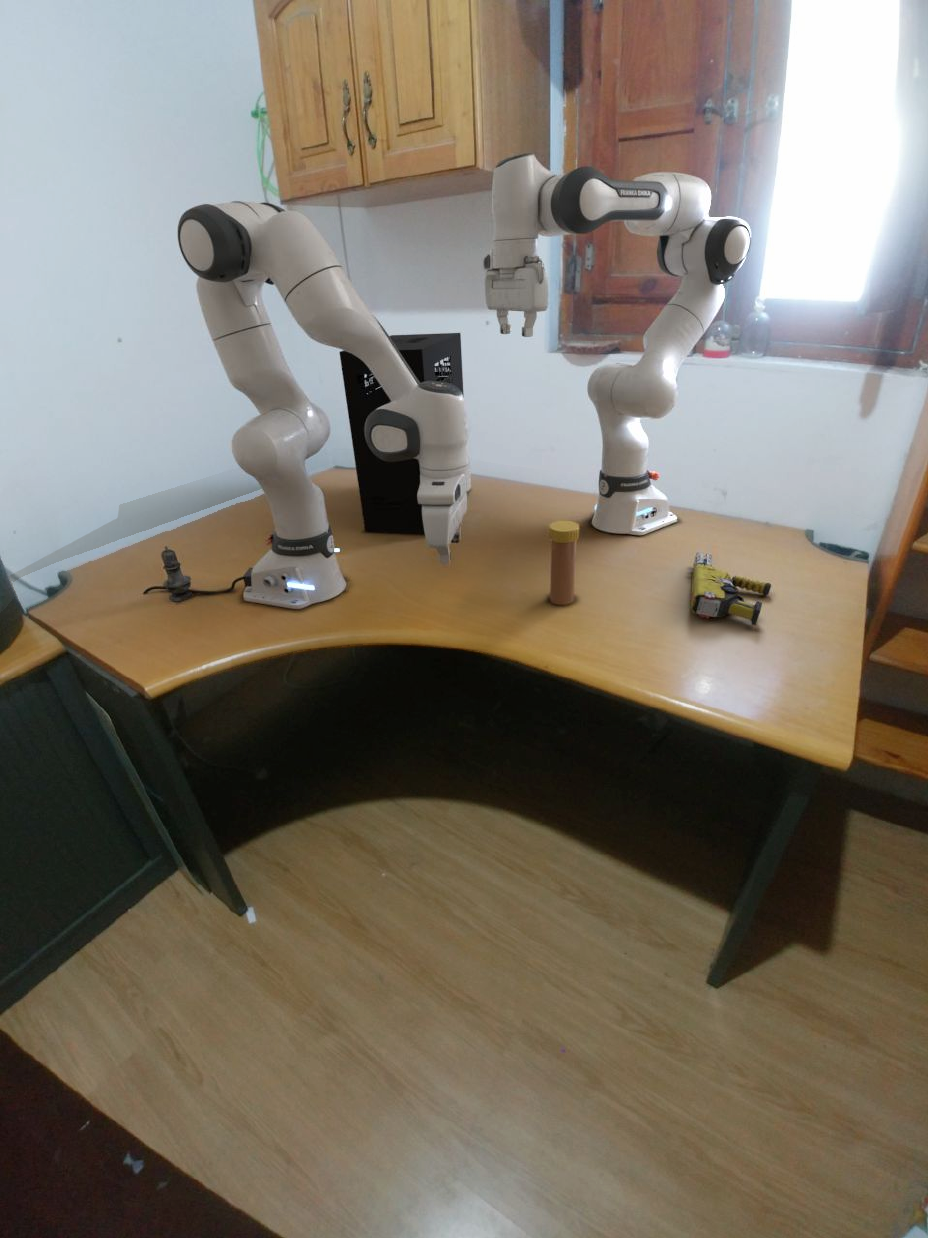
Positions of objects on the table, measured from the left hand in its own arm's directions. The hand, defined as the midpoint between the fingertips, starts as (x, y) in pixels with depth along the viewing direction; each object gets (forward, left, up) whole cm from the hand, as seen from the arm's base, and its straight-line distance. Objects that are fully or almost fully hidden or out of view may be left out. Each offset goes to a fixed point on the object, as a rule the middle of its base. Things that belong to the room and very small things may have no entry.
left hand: (450, 551), depth 114 cm
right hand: (+9, +35, +34) cm, 49 cm away
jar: (+21, +10, -14) cm, 27 cm away
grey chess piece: (-64, +4, -14) cm, 65 cm away
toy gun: (+54, +14, -14) cm, 58 cm away
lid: (+21, +10, +1) cm, 23 cm away
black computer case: (-23, +62, -14) cm, 68 cm away
